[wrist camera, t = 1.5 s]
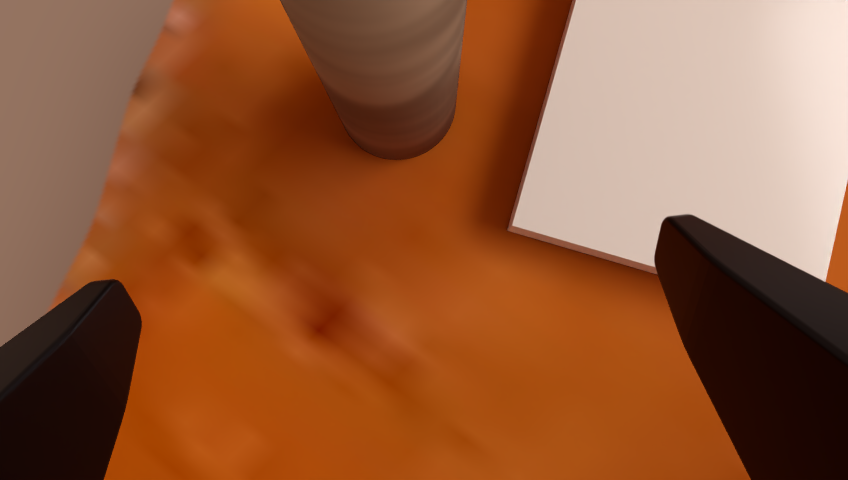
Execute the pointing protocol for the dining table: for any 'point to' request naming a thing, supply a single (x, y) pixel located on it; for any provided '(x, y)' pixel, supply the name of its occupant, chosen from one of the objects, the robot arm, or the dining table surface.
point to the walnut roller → (386, 67)
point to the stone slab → (692, 128)
